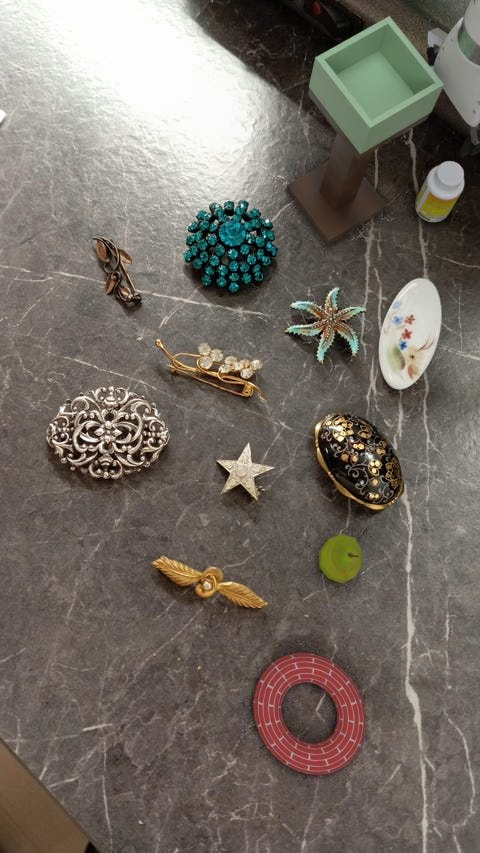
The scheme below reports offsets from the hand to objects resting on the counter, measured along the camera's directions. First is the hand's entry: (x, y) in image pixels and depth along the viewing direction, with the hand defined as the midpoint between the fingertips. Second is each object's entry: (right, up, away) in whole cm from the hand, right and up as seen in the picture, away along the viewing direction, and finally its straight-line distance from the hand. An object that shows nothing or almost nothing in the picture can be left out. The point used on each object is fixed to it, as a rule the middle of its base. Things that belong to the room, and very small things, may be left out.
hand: (449, 122), depth 119 cm
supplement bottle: (+2, -6, +21) cm, 22 cm away
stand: (-13, -5, +20) cm, 24 cm away
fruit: (-14, -59, +7) cm, 61 cm away
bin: (-11, +1, -5) cm, 12 cm away
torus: (-19, -78, +1) cm, 80 cm away
